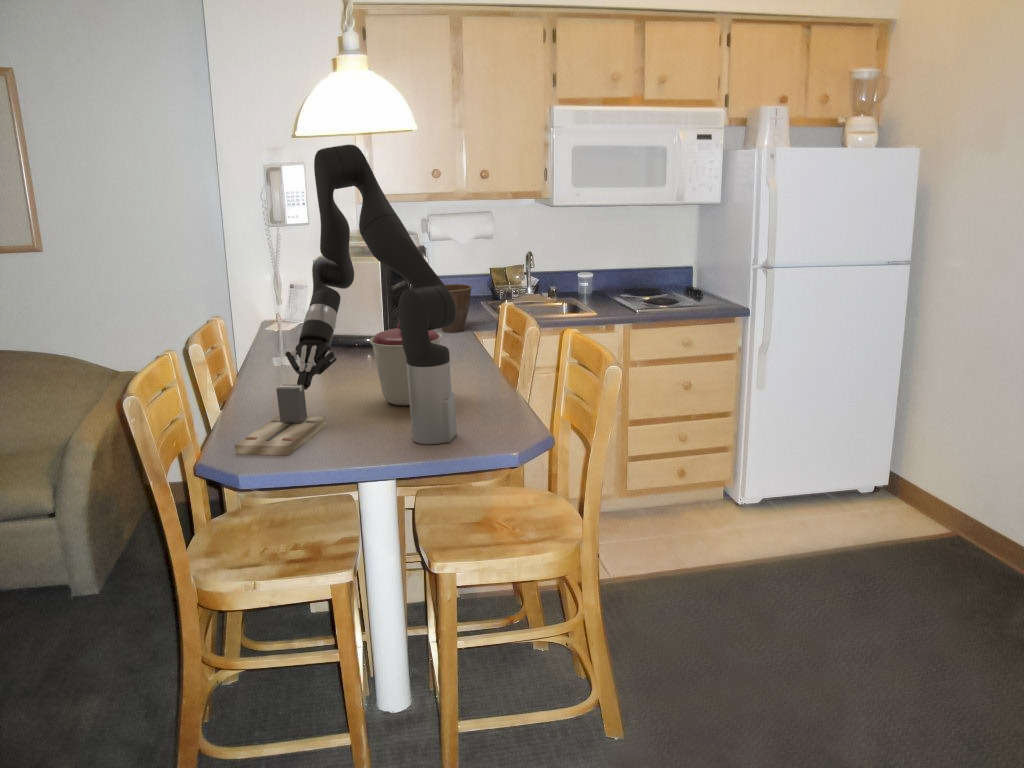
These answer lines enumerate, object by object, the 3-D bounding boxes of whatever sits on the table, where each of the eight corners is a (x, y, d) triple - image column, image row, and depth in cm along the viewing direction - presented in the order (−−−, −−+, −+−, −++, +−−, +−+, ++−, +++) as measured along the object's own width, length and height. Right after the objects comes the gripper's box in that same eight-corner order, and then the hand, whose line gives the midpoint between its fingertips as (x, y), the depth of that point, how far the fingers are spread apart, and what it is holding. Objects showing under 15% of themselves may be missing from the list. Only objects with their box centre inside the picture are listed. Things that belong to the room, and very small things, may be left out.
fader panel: (326, 425, 183) (325, 416, 182) (288, 455, 164) (287, 445, 163) (279, 423, 185) (277, 415, 184) (235, 453, 166) (234, 444, 165)
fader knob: (307, 418, 180) (304, 384, 178) (301, 422, 177) (297, 388, 175) (286, 417, 181) (282, 384, 179) (280, 422, 178) (275, 388, 176)
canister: (459, 396, 202) (455, 316, 197) (413, 414, 188) (407, 329, 182) (407, 387, 212) (401, 311, 206) (360, 404, 198) (352, 323, 192)
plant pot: (480, 331, 282) (478, 287, 278) (443, 337, 275) (440, 292, 271) (462, 325, 294) (459, 283, 290) (426, 330, 287) (423, 287, 283)
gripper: (287, 318, 190) (270, 379, 182) (339, 318, 188) (323, 380, 179) (299, 334, 196) (282, 395, 188) (349, 335, 194) (334, 396, 186)
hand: (302, 388), depth 184 cm, fingers closed
